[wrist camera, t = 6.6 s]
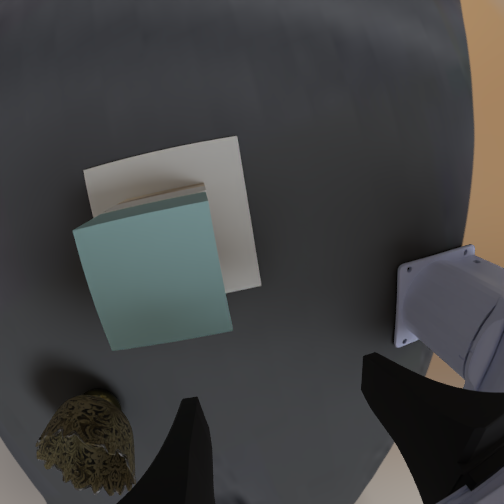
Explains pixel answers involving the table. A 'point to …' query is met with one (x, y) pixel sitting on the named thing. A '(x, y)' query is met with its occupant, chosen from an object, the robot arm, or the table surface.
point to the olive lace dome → (90, 443)
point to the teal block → (155, 272)
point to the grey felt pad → (184, 174)
